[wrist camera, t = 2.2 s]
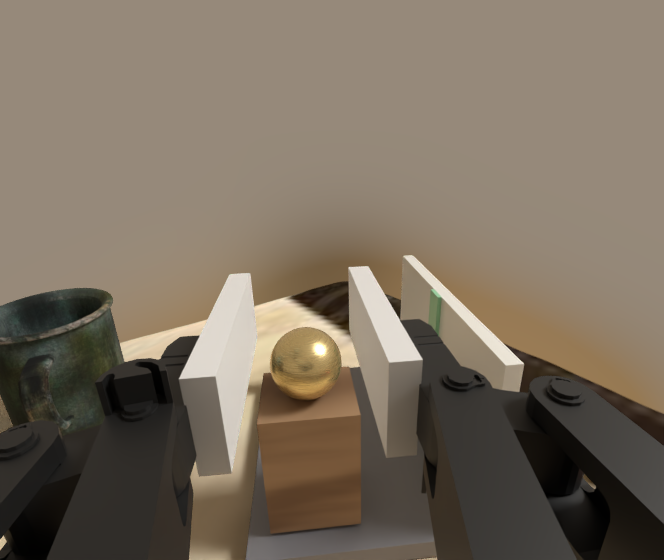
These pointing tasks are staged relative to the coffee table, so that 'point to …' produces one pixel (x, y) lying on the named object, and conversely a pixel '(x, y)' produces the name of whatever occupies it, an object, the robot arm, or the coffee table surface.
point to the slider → (309, 435)
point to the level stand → (376, 470)
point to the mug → (57, 357)
